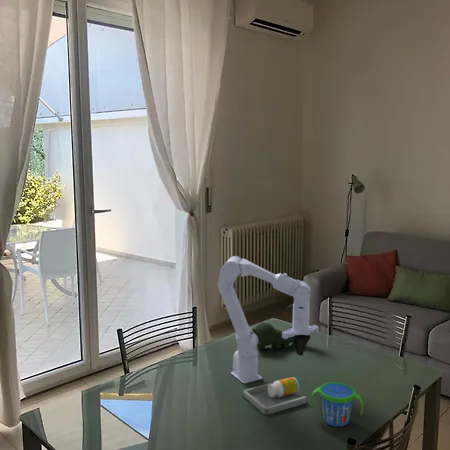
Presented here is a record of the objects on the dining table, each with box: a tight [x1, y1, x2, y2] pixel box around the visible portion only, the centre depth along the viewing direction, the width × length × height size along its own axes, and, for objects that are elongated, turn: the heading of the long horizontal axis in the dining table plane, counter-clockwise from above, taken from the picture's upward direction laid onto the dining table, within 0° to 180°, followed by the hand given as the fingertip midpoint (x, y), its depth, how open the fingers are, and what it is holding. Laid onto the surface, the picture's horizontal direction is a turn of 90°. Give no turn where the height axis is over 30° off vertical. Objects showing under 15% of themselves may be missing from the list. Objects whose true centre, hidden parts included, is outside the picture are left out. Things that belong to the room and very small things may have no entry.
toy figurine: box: [251, 304, 294, 351], centre depth 209 cm, size 9×19×25 cm
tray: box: [241, 381, 308, 416], centre depth 166 cm, size 14×16×2 cm
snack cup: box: [309, 381, 364, 428], centre depth 153 cm, size 16×10×10 cm
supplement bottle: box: [268, 376, 300, 398], centre depth 168 cm, size 5×5×10 cm
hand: (299, 354), depth 177 cm, fingers closed
